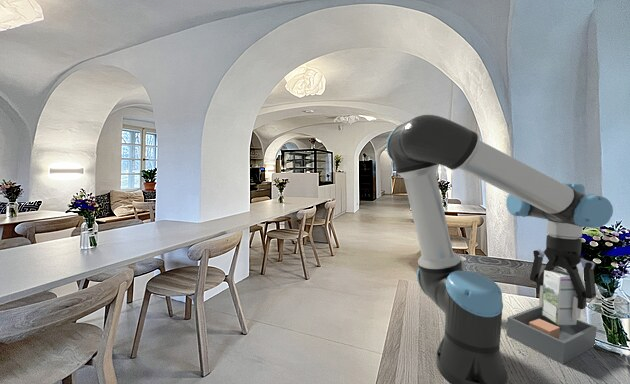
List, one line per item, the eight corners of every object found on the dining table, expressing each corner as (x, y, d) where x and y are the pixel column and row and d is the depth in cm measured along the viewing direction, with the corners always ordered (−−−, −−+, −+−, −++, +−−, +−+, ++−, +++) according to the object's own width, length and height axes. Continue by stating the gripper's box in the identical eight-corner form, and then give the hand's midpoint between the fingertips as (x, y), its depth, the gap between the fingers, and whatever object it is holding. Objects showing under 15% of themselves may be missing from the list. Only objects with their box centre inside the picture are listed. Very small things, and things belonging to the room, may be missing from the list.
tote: (562, 364, 69) (564, 343, 68) (506, 335, 81) (507, 317, 81) (595, 345, 76) (596, 327, 76) (538, 321, 88) (540, 305, 88)
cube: (548, 348, 74) (549, 331, 74) (528, 338, 78) (529, 322, 78) (558, 344, 76) (559, 327, 75) (538, 334, 80) (539, 318, 80)
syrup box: (577, 325, 77) (581, 276, 76) (556, 325, 77) (559, 276, 76) (559, 315, 83) (563, 269, 82) (540, 314, 83) (543, 269, 82)
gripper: (619, 242, 70) (612, 326, 72) (531, 228, 89) (527, 295, 90) (606, 246, 67) (599, 333, 69) (517, 230, 86) (514, 299, 87)
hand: (558, 311), depth 80 cm, fingers closed on syrup box, 7 cm apart
